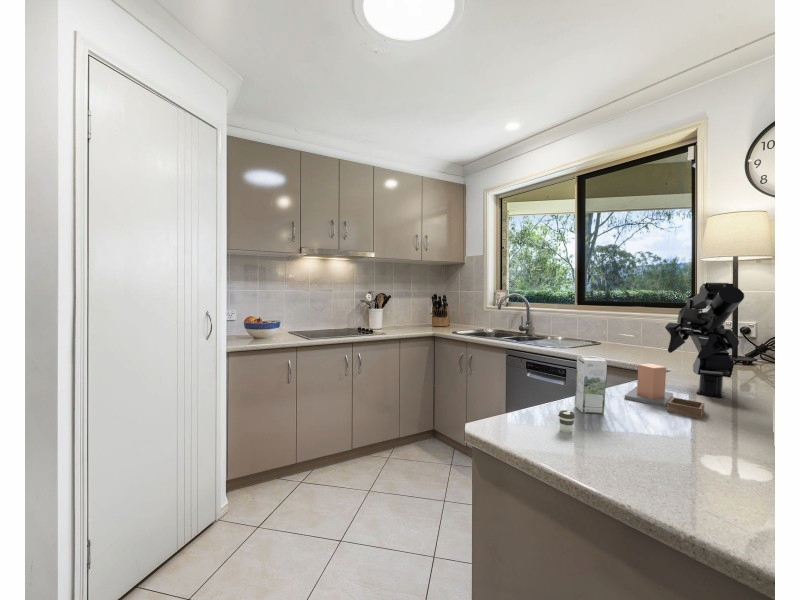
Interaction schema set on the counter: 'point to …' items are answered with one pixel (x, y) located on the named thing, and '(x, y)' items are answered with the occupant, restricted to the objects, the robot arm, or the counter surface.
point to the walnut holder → (686, 407)
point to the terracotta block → (651, 380)
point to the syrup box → (590, 384)
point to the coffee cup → (566, 421)
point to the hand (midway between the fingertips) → (683, 354)
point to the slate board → (655, 401)
